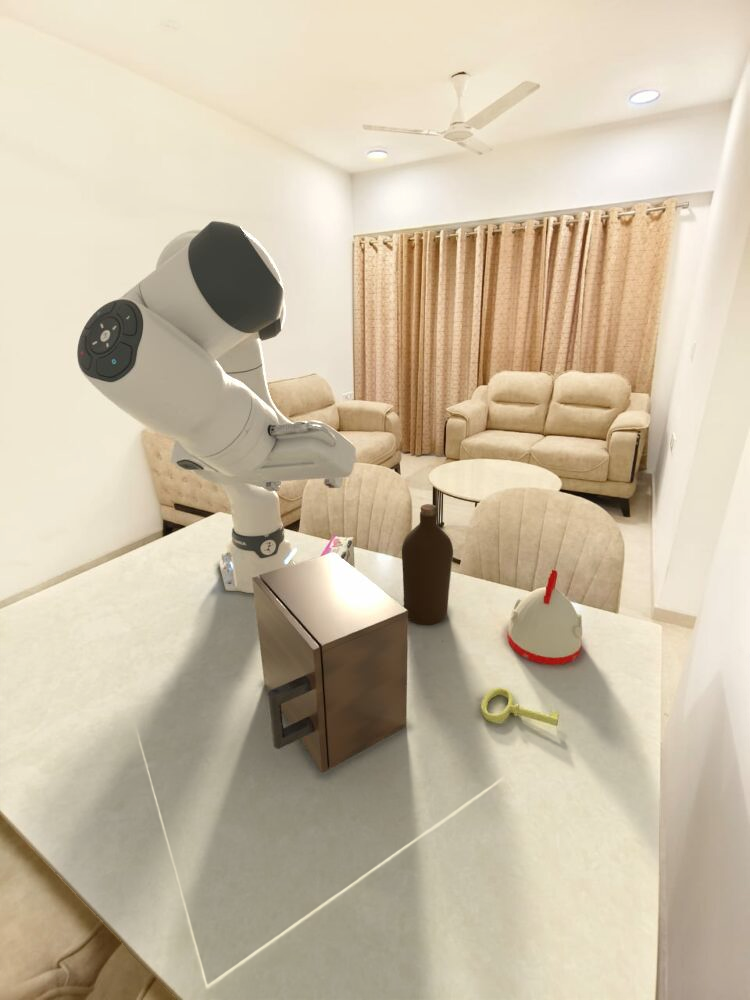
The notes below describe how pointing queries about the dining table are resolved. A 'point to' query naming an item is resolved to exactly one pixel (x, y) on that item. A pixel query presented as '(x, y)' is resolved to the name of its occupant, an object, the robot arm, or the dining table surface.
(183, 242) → the robot arm
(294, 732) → the door
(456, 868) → the dining table surface
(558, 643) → the kitchen timer
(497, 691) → the key
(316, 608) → the cupboard
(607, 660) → the dining table surface
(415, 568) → the olive oil
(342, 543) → the candy bar box
